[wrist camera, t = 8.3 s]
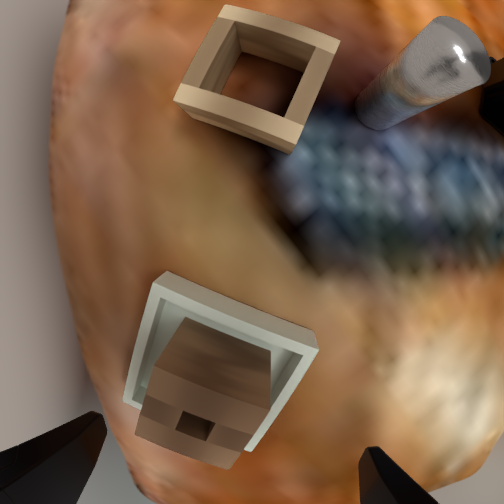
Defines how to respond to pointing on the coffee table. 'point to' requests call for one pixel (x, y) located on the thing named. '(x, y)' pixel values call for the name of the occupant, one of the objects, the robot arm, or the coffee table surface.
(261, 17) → the beige square frame
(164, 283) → the tray
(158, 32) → the coffee table surface
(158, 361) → the walnut block
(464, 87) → the cylinder
